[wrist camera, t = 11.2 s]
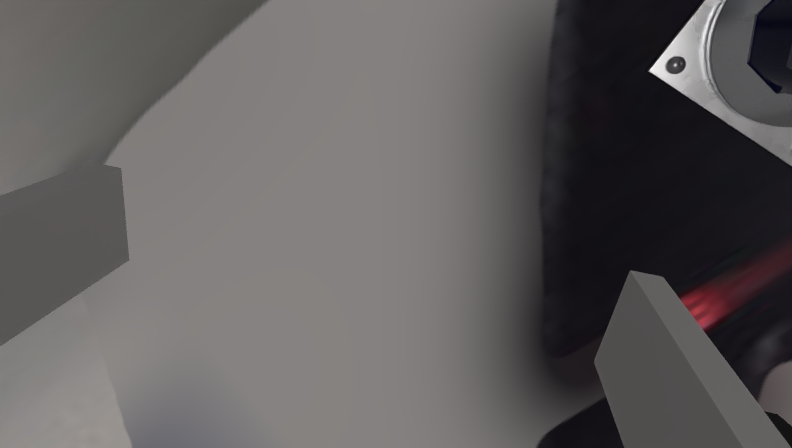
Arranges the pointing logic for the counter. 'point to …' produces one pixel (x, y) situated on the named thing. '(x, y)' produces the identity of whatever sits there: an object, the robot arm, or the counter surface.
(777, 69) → the bottle
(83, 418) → the counter surface
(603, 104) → the counter surface
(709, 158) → the counter surface
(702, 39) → the flange plate
